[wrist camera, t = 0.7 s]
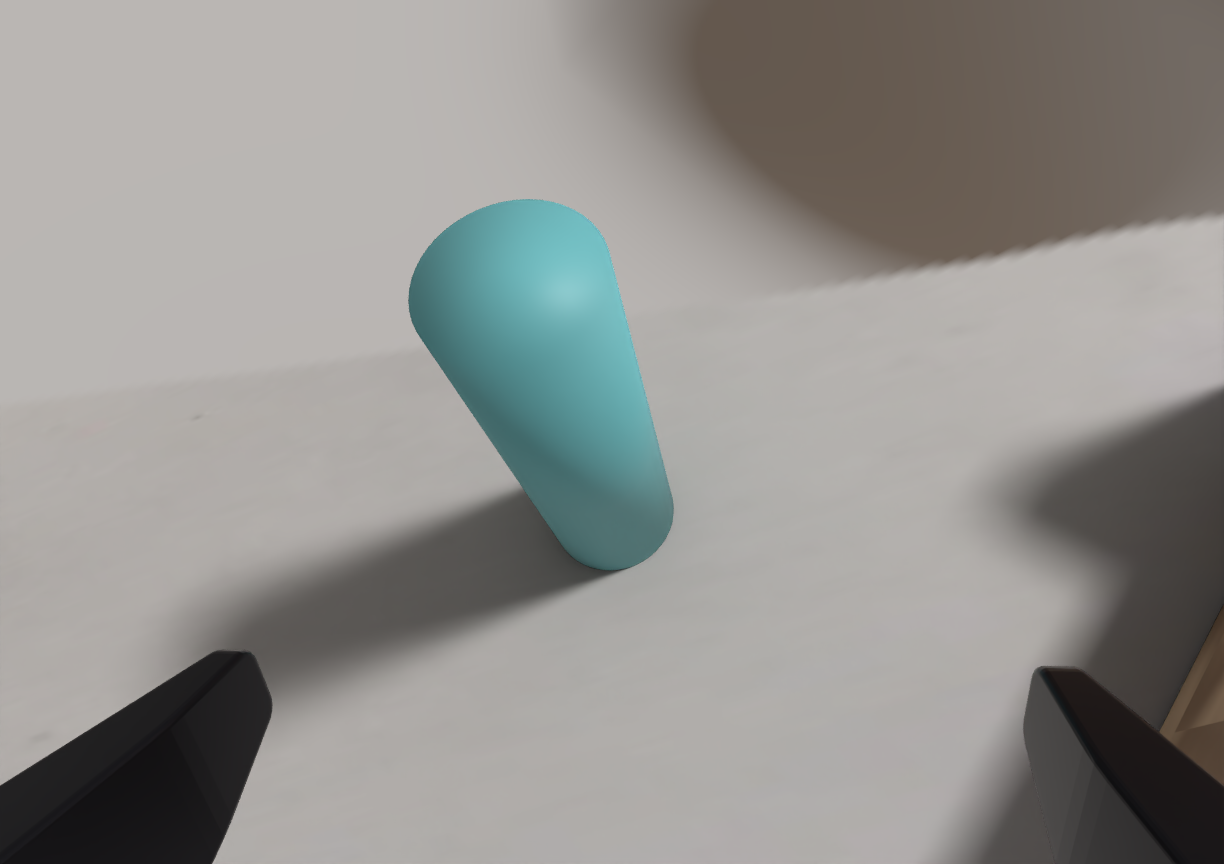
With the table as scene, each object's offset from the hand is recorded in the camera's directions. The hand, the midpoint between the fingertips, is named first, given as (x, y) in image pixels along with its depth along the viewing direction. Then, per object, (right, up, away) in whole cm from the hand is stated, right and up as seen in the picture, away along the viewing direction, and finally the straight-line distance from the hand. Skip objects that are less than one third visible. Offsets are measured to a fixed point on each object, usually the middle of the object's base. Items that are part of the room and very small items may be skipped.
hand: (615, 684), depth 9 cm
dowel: (0, 0, +17) cm, 17 cm away
